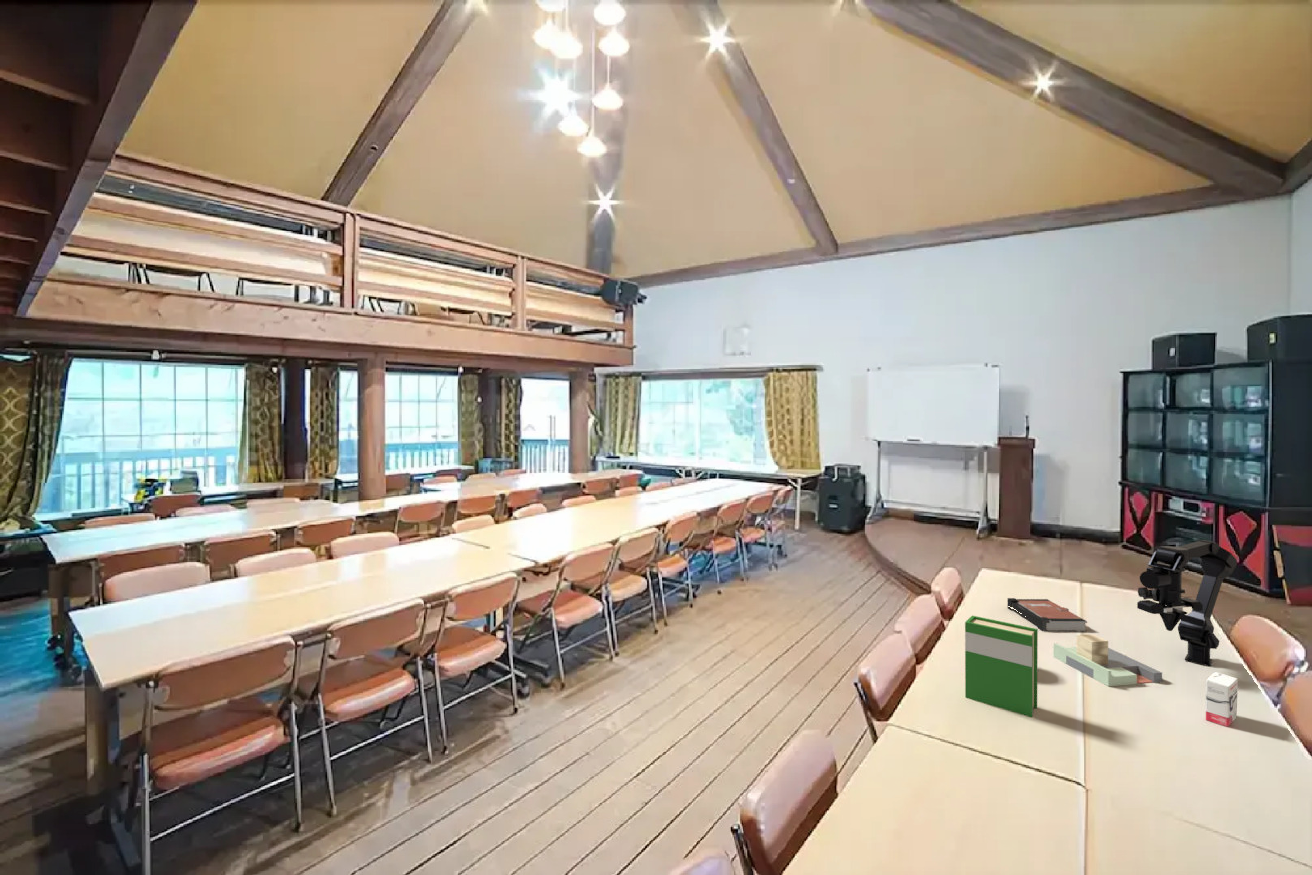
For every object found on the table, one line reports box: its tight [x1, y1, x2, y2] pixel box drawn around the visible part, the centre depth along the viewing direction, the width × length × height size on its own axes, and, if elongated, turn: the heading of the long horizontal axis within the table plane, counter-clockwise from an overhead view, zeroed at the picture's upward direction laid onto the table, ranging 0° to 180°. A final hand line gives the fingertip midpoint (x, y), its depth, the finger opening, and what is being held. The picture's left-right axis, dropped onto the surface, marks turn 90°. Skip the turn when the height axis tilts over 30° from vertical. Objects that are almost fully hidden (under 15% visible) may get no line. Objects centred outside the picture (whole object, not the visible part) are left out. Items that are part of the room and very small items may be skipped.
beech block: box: [1076, 633, 1109, 665], centre depth 194 cm, size 6×6×8 cm
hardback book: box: [964, 615, 1039, 718], centre depth 175 cm, size 18×7×24 cm, turn 46°
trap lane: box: [1053, 642, 1163, 687], centre depth 195 cm, size 19×22×5 cm
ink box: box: [1205, 671, 1239, 728], centre depth 163 cm, size 8×5×12 cm, turn 123°
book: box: [1007, 597, 1088, 632], centre depth 240 cm, size 26×18×5 cm
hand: (1169, 630), depth 193 cm, fingers closed
